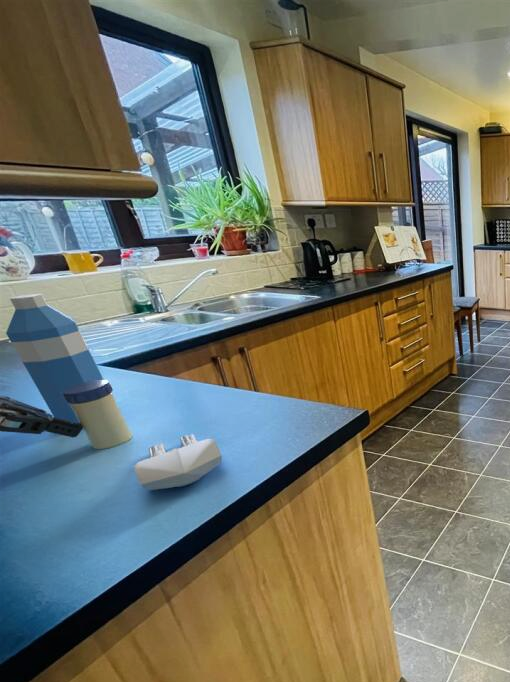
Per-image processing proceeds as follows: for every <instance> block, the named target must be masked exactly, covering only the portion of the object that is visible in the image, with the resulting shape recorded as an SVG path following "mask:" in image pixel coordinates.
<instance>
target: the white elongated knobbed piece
mask: <svg viewBox="0 0 510 682" xmlns="http://www.w3.org/2000/svg"><path fill="white" fill-rule="evenodd" d="M179 442H180V443H181V445H182V446H181V447H178V448H173V449H172V450H170V451H166V447H165V445H164V444H163V443H160V444H159V443H158V444H155V445H152V446H150V447H148V453H149V458H146V459H142V460H139V461H137V463H135V465H134V466H133V470H134V472H135V475H136V477H137V479H138V482H139V483H140V485H141V486H142V487H143V488H144V489H145V490H147V491H154V490H162V489H169V488H170V489H171V488H174V487H175V488H176V487H177V488H180V487H185V486H188V485H191V484H193V483H195V482H198V481H199V480H200V479H201V478H202V477H203V476H205V475H207V474H208V473H209V472H211V471H212V470H214V469H215V468H216V467H218V466H220V464H222V454H221V451H220V449H219V447H218V444H217V441H216V440H215V439H213V438H205V439H202V440H199V441H198V439H197V438H196V436H195V435H194V434H193V433H191V434H186V435H183V436H182V437H180V438H179Z"/></svg>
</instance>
